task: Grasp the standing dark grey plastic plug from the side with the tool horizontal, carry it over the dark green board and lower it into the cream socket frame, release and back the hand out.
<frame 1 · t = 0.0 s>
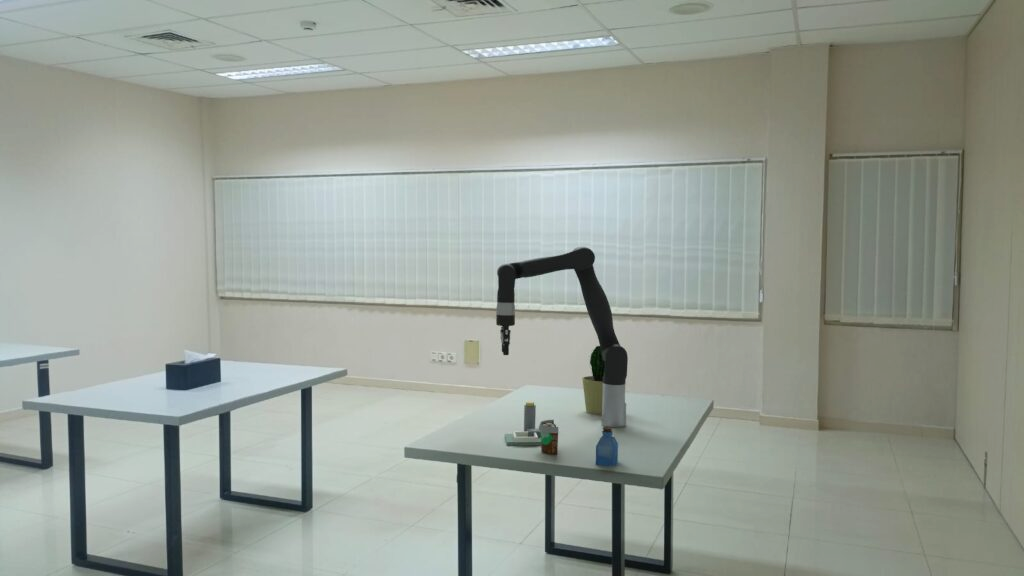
hand: (505, 353, 297), 29 cm above the table, tool pointing down, fingers open, 8 cm apart
board: (524, 441, 274), on the table
perfume bottle: (606, 463, 247), on the table
food container: (546, 451, 261), on the table
plug: (529, 433, 286), on the table
potted cactus: (598, 412, 327), on the table
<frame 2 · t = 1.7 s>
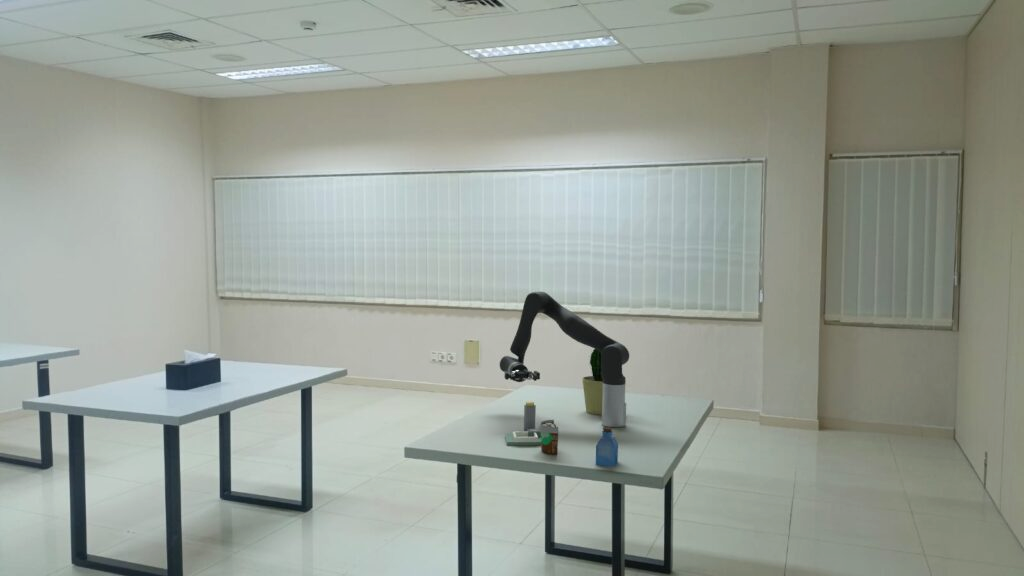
hand: (525, 378, 296), 20 cm above the table, tool horizontal, fingers open, 8 cm apart
nothing on the table moved.
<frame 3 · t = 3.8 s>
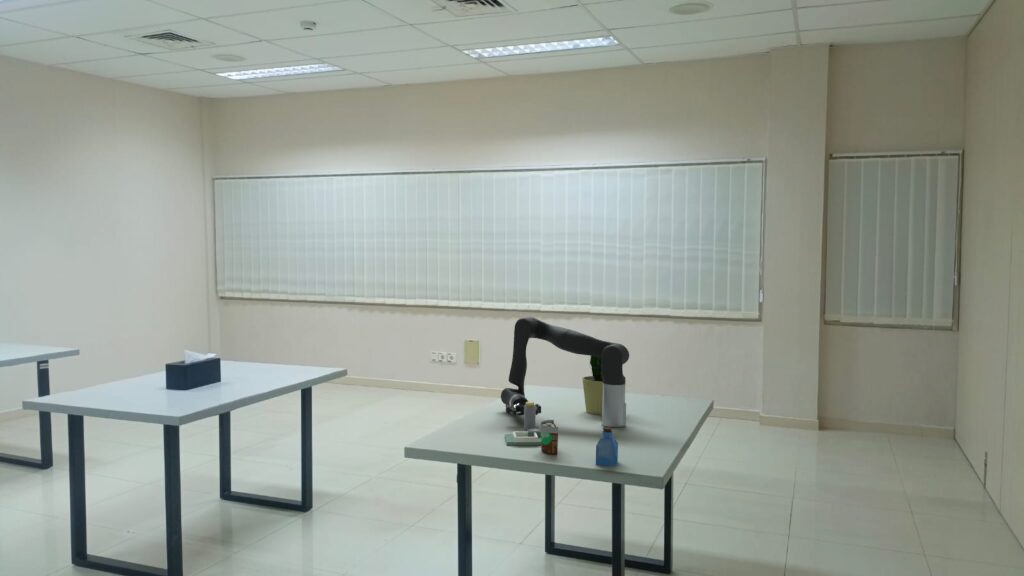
hand: (526, 412, 293), 6 cm above the table, tool horizontal, fingers open, 8 cm apart
nothing on the table moved.
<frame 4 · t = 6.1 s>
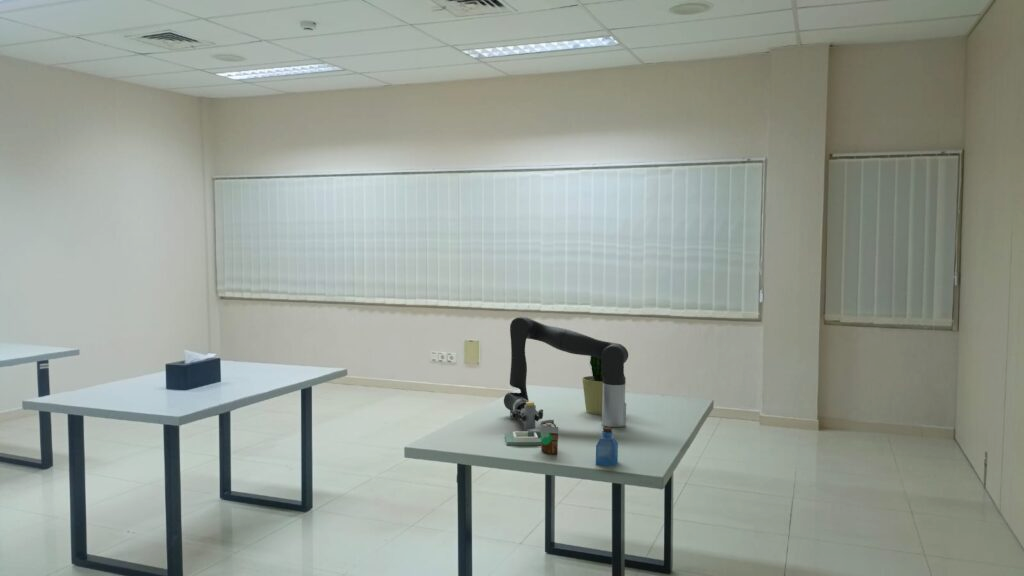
hand: (531, 418, 283), 7 cm above the table, tool horizontal, fingers closed on plug, 4 cm apart
plug: (529, 433, 286), on the table, touching gripper
everything else where it was.
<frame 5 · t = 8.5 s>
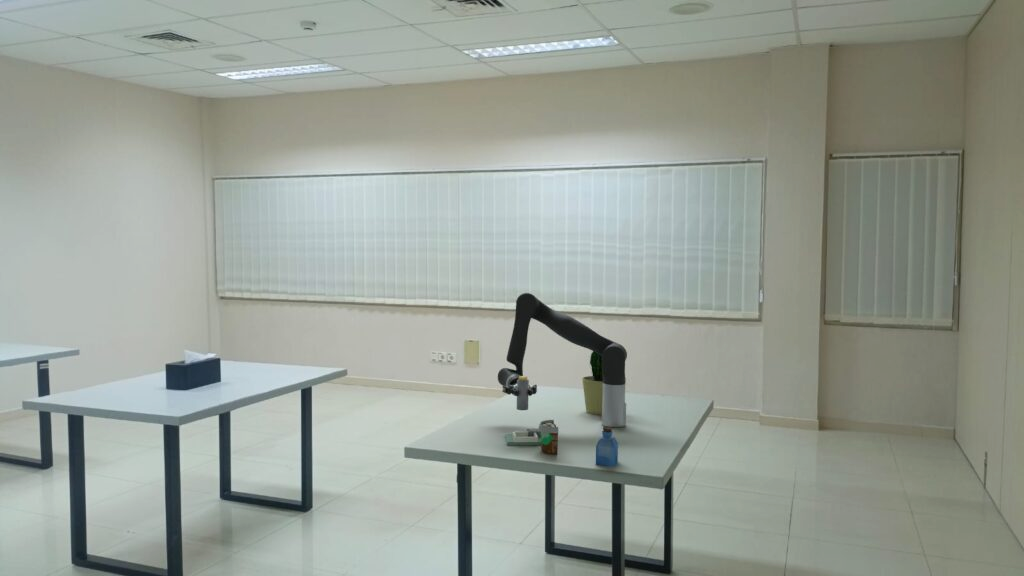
hand: (524, 393, 274), 18 cm above the table, tool horizontal, fingers closed on plug, 4 cm apart
plug: (522, 409, 277), point 11 cm above the table, touching gripper
everything else where it was.
when the fingers open (9 cm above the table, at t = 11.0 s): plug drops 1 cm, resting on board.
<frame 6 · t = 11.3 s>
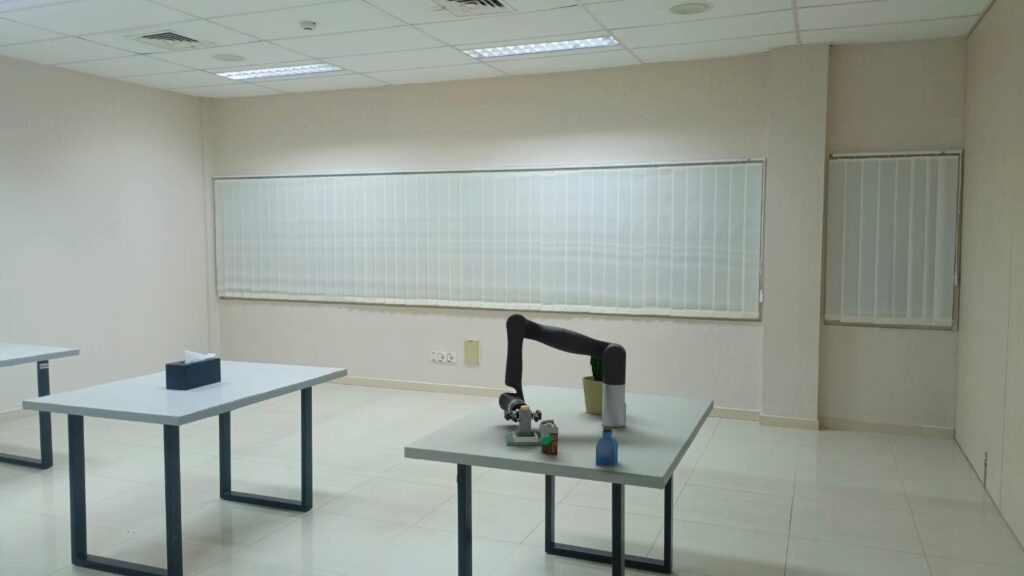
hand: (526, 419, 270), 9 cm above the table, tool horizontal, fingers open, 7 cm apart
plug: (525, 438, 272), point 1 cm above the table, touching board
everything else where it was.
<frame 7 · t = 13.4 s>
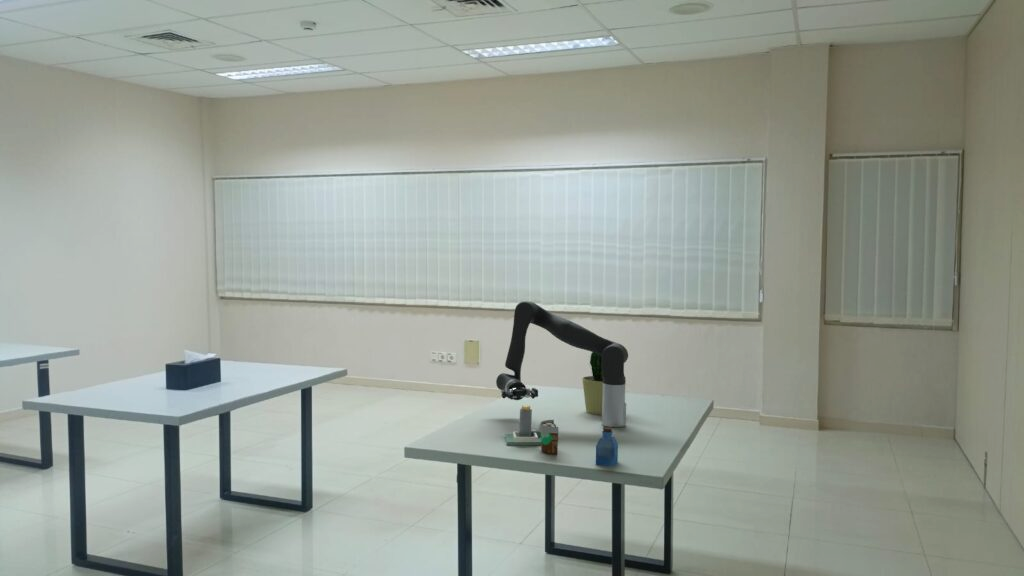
hand: (522, 396, 285), 15 cm above the table, tool horizontal, fingers open, 8 cm apart
nothing on the table moved.
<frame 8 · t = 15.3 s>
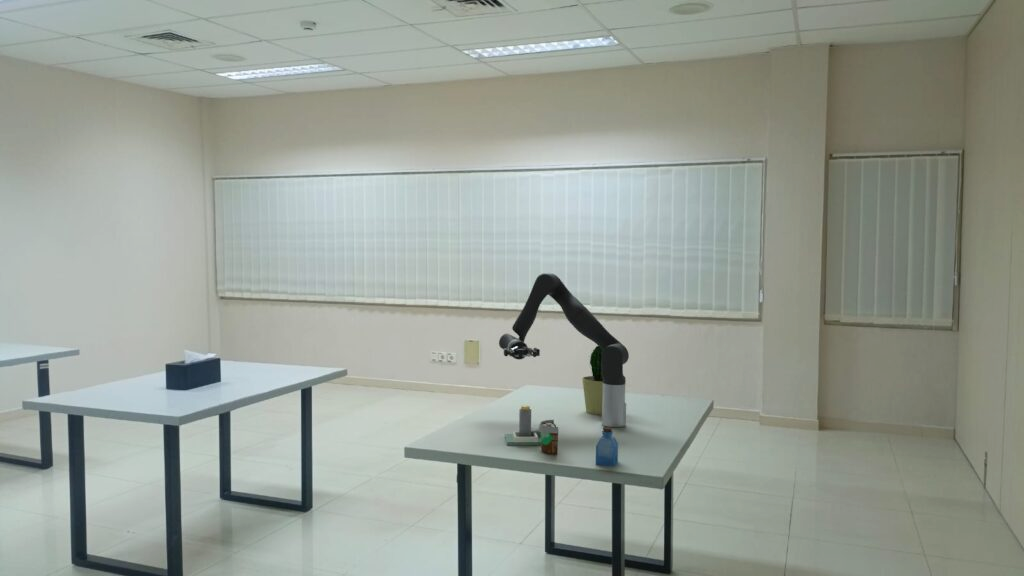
hand: (524, 354, 290), 30 cm above the table, tool horizontal, fingers open, 8 cm apart
nothing on the table moved.
at the end: plug 0.1 cm from the target spot on the board, point 1.2 cm above the board's base; plug tilted 1°; the gripper is holding nothing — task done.
